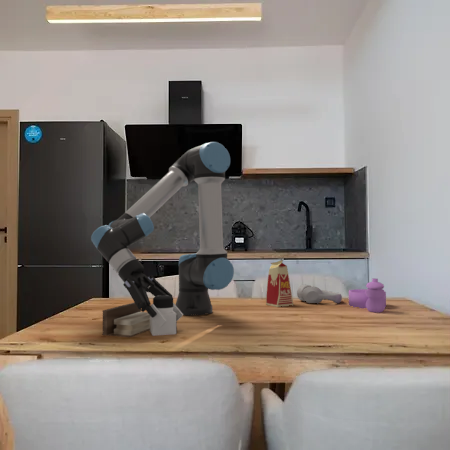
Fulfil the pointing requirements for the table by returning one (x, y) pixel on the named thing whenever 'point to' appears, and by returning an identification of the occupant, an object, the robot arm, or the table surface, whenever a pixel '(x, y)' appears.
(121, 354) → the table surface
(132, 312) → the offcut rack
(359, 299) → the container set
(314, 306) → the table surface
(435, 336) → the table surface
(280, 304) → the milk carton
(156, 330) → the medicine bottle
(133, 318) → the offcut stack
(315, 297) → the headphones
